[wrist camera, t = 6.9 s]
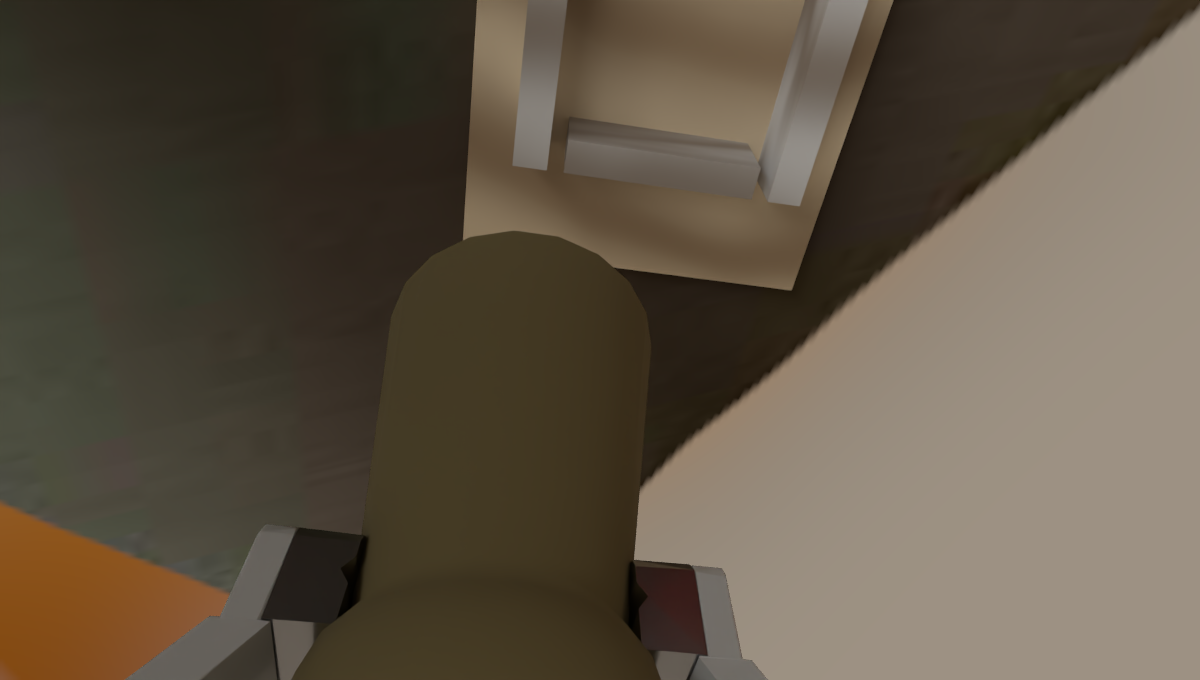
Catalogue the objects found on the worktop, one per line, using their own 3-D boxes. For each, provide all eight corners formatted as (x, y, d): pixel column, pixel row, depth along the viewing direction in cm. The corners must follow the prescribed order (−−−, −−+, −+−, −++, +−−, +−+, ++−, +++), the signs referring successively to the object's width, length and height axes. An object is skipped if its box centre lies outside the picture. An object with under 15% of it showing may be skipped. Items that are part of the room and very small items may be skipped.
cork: (416, 195, 15) (170, 751, 6) (691, 274, 16) (833, 836, 7) (371, 413, 18) (166, 989, 9) (603, 466, 19) (625, 1020, 10)
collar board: (508, -421, 20) (493, -470, 17) (982, -315, 22) (1054, -341, 19) (467, 231, 32) (453, 278, 28) (783, 273, 33) (806, 322, 30)
